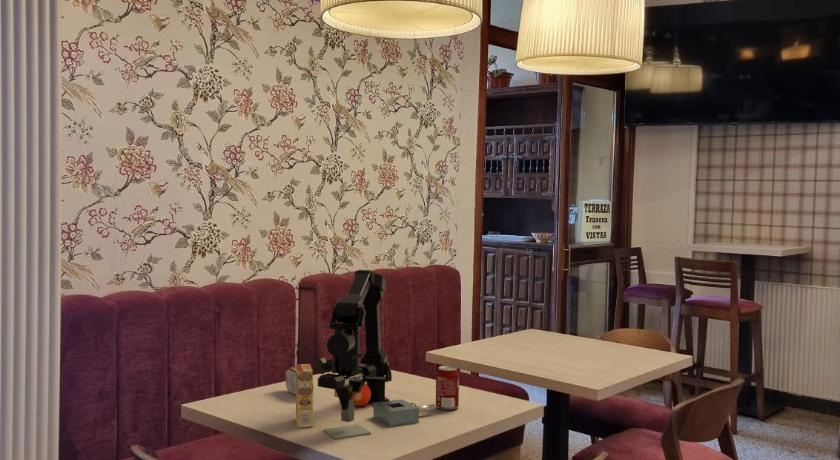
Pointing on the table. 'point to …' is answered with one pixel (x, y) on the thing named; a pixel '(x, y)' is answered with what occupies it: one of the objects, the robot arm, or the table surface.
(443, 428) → the table surface
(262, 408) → the table surface
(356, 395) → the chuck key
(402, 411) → the block
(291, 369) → the tin
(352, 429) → the mat
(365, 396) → the clementine
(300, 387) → the candy box
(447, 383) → the soda can
